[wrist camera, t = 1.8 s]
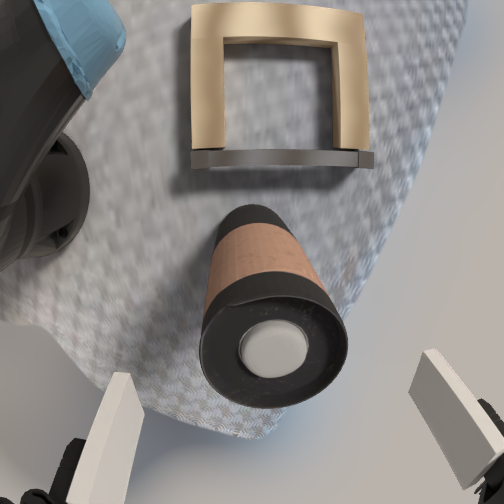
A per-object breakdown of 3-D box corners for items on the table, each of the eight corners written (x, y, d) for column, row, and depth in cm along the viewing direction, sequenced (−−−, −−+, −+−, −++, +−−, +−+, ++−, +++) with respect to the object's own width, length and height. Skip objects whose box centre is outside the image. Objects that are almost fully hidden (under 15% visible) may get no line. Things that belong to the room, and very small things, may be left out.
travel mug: (290, 265, 35) (346, 398, 16) (221, 274, 35) (212, 417, 16) (284, 197, 32) (355, 280, 13) (211, 206, 32) (180, 302, 13)
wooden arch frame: (196, 165, 30) (191, 169, 27) (194, 13, 25) (190, -1, 21) (358, 165, 31) (373, 168, 28) (354, 21, 25) (367, 9, 22)
